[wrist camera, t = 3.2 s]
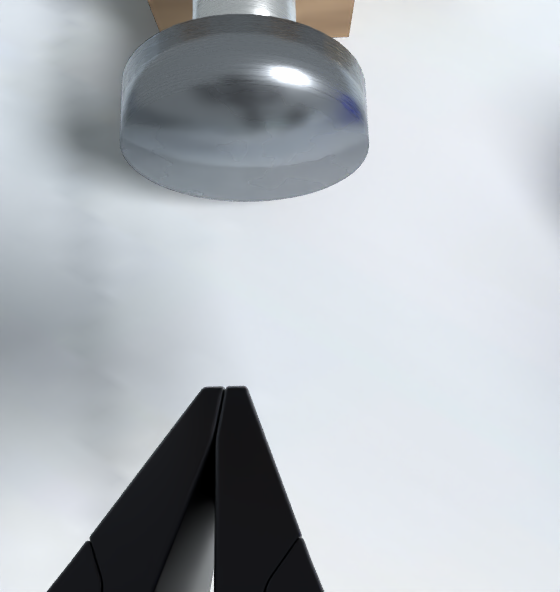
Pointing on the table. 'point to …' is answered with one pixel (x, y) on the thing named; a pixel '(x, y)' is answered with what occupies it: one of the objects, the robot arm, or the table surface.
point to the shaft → (243, 105)
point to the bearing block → (309, 11)
